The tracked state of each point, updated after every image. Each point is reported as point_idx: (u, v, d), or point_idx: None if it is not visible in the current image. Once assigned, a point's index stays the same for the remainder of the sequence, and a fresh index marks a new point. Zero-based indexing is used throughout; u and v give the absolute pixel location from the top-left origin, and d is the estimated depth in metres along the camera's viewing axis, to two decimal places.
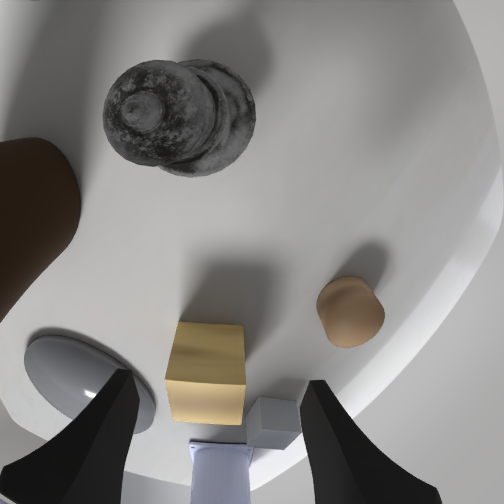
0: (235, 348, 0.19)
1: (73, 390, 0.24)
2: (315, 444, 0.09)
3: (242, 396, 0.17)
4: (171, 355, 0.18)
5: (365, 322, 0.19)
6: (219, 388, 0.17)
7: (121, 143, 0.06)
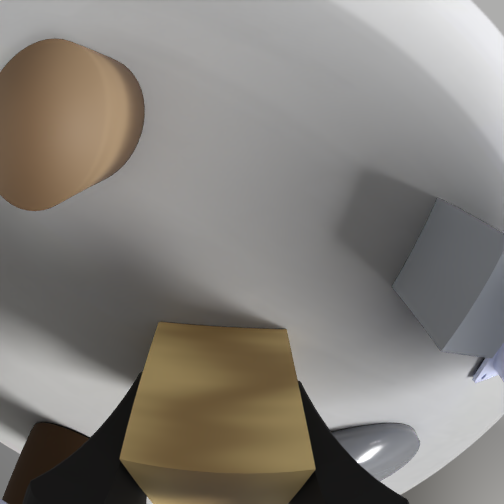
0: None
1: None
2: None
3: (167, 469, 0.05)
4: None
5: (25, 98, 0.05)
6: (147, 481, 0.06)
7: None
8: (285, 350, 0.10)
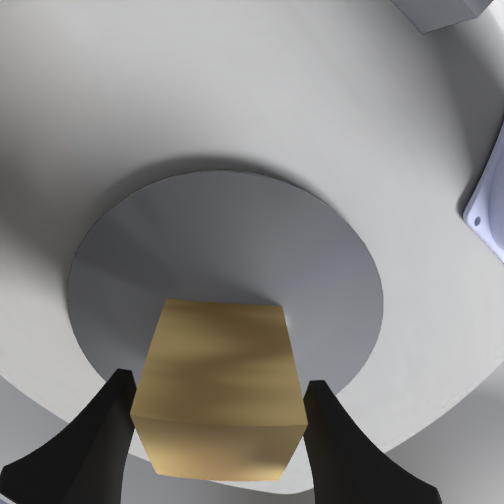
0: None
1: None
2: (315, 444, 0.09)
3: (173, 423, 0.07)
4: None
5: None
6: (153, 442, 0.07)
7: None
8: (281, 323, 0.11)
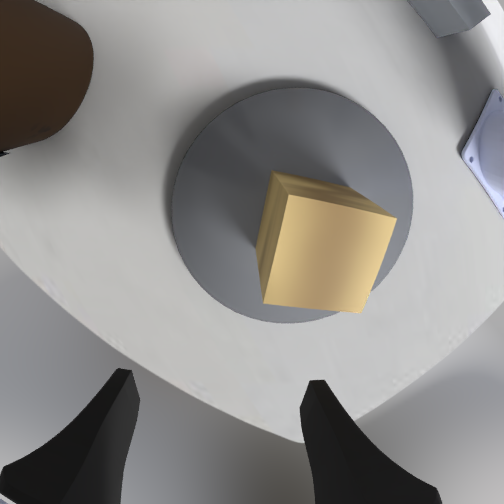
0: (274, 190, 0.14)
1: None
2: (315, 444, 0.09)
3: (318, 203, 0.11)
4: (259, 277, 0.15)
5: None
6: (290, 235, 0.12)
7: None
8: (354, 191, 0.16)
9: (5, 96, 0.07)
